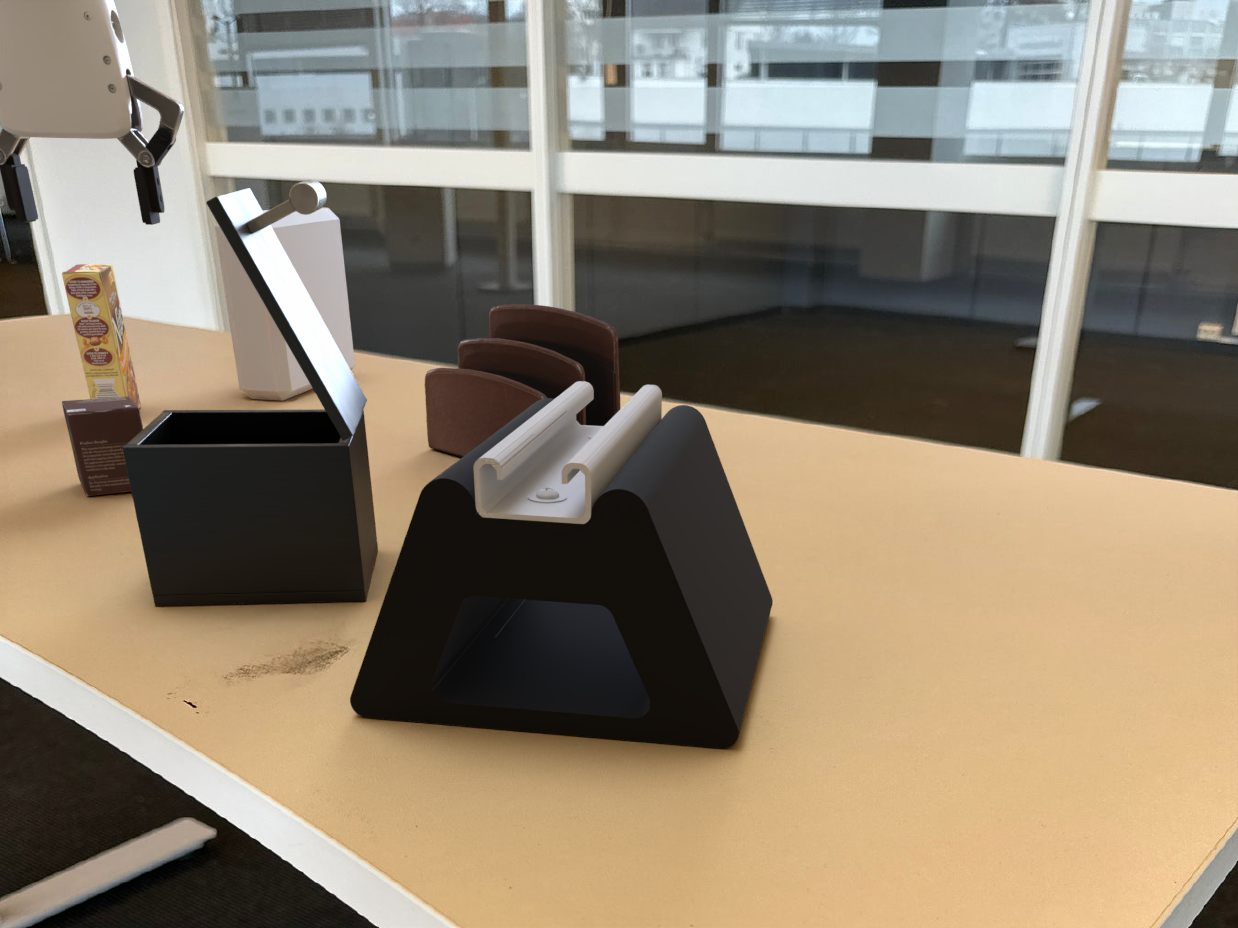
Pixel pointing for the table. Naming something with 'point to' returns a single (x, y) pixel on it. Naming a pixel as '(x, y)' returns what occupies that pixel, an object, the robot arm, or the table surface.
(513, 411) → the letter holder
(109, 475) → the box
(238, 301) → the bevelled white case
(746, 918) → the table surface
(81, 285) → the candy box
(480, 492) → the device stand
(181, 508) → the waste bin
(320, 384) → the bin lid
